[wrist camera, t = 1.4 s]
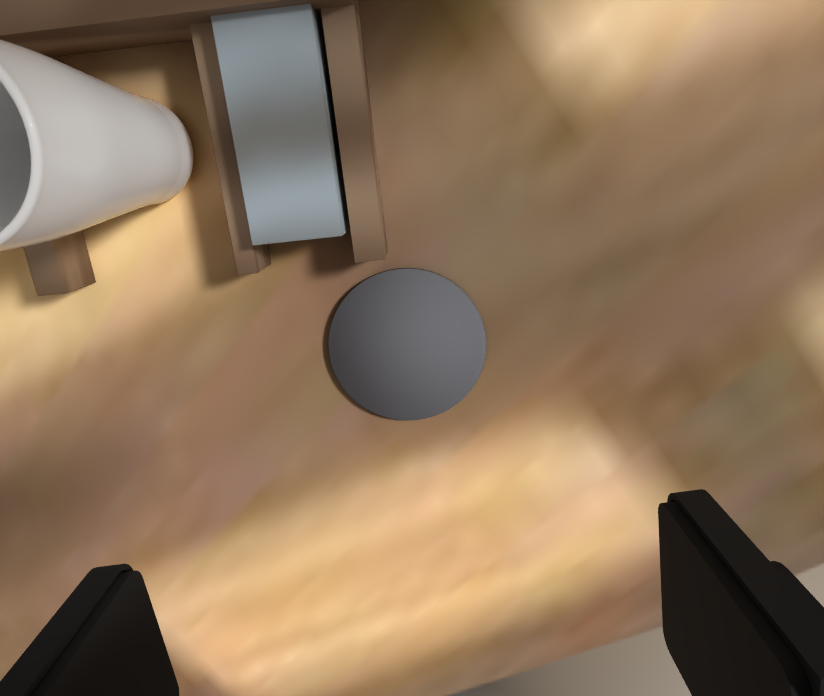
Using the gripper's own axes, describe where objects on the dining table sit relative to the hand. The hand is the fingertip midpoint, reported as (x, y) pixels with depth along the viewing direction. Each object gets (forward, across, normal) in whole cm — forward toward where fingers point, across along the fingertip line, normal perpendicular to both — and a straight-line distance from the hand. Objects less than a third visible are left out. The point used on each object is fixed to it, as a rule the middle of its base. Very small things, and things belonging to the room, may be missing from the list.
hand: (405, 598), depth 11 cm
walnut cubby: (+24, +10, -10) cm, 28 cm away
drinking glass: (+25, +13, -10) cm, 29 cm away
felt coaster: (+24, +1, +2) cm, 25 cm away
